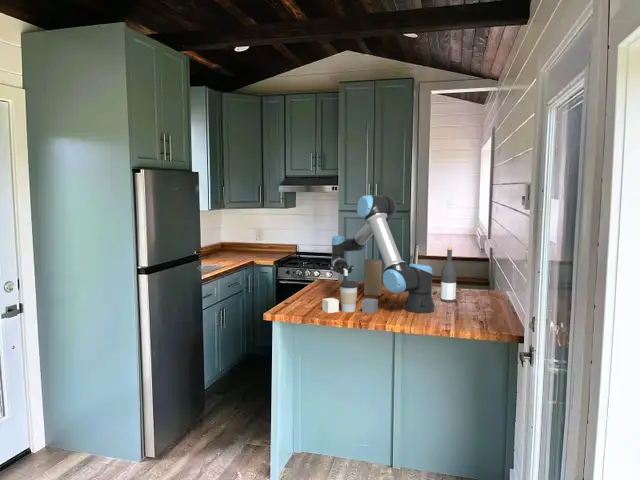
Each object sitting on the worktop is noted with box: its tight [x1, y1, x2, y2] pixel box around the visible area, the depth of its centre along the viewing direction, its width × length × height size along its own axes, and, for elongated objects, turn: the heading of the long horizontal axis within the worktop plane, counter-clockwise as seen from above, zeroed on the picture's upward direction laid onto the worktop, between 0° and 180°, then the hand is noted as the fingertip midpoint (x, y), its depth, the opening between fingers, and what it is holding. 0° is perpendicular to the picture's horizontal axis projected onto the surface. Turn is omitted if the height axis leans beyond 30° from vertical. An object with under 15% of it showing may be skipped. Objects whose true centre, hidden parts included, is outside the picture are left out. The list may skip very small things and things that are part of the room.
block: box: [363, 258, 383, 297], centre depth 279 cm, size 10×10×20 cm
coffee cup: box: [339, 280, 359, 313], centre depth 241 cm, size 9×9×15 cm
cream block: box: [321, 297, 340, 314], centre depth 241 cm, size 6×6×6 cm
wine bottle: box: [439, 246, 457, 304], centre depth 263 cm, size 8×8×30 cm
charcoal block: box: [361, 297, 379, 314], centre depth 240 cm, size 6×6×6 cm
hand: (346, 273), depth 249 cm, fingers closed
